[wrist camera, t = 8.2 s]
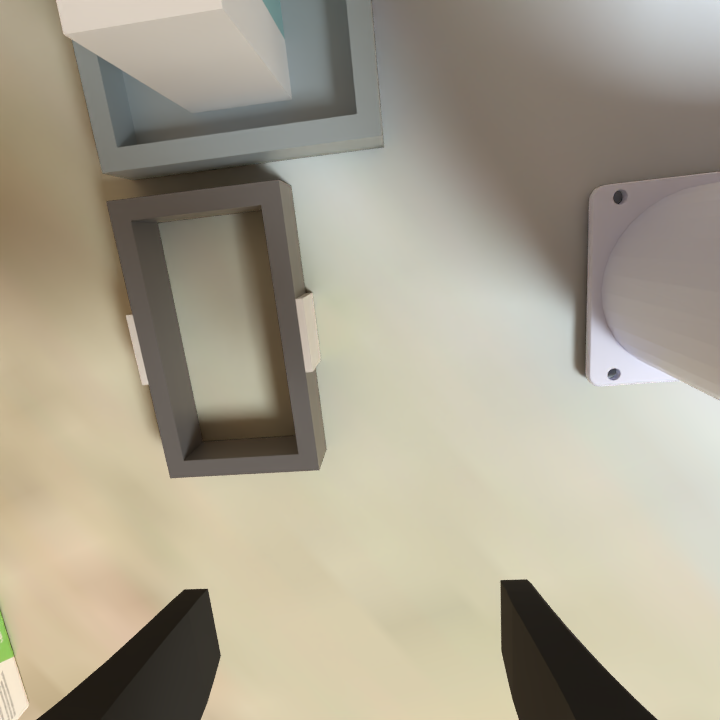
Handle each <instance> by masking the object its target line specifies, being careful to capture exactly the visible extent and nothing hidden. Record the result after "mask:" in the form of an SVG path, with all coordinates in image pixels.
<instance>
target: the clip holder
mask: <svg viewBox="0 0 720 720" xmlns="http://www.w3.org/2000/svg"><path fill="white" fill-rule="evenodd" d="M106 202H107V206H108V211H109V215H110V219H111V224H112V228H113V232H114V237H115V241H116V245H117V250H118V254H119V258H120V263H121V267H122V271H123V276H124V280H125V284H126V289H127V293H128V297H129V302H130V306H131V310H132V314H129V315H126V319H127V323H128V328H129V332H130V336H131V340H132V345H133V349H134V353H135V357H136V362H137V366H138V370H139V374H140V379H141V383H142V385H149V388H150V393H151V397H152V401H153V406H154V410H155V414H156V419H157V423H158V427H159V432H160V436H161V440H162V444H163V449H164V453H165V457H166V462H167V466H168V470H169V475H170V478H182V477H201V476H219V475H238V474H256V473H275V472H294V471H312V470H319V469H320V467H321V464H322V461H323V458H324V455H325V452H326V450H327V449H326V442H325V434H324V427H323V419H322V412H321V404H320V397H319V389H318V382H317V374H316V366H317V365H318V363H319V362H320V360H321V355H320V347H319V339H318V332H317V324H316V316H315V309H314V301H313V293H306V292H305V285H304V277H303V270H302V262H301V255H300V247H299V240H298V232H297V225H296V218H295V210H294V203H293V195H292V188H291V186H290V185H288V184H286V183H284V182H282V181H280V180H271V181H263V182H256V183H248V184H240V185H232V186H224V187H216V188H208V189H200V190H192V191H184V192H176V193H169V194H161V195H153V196H145V197H137V198H129V199H121V200H113V201H106ZM260 210H262V215H263V222H264V228H265V235H266V241H267V248H268V255H269V261H270V268H271V275H272V281H273V288H274V294H275V301H276V308H277V314H278V321H279V328H280V334H281V341H282V347H283V354H284V361H285V367H286V374H287V381H288V387H289V394H290V400H291V407H292V414H293V420H294V427H295V434H296V436H282V437H266V438H250V439H234V440H218V441H203V440H202V436H201V431H200V426H199V421H198V416H197V411H196V407H195V402H194V397H193V392H192V387H191V382H190V378H189V373H188V368H187V363H186V358H185V353H184V349H183V344H182V339H181V334H180V329H179V324H178V319H177V315H176V310H175V305H174V300H173V295H172V290H171V286H170V281H169V276H168V271H167V266H166V261H165V257H164V252H163V247H162V242H161V237H160V232H159V228H158V223H159V222H167V221H176V220H184V219H193V218H201V217H209V216H218V215H226V214H234V213H243V212H251V211H260Z"/></svg>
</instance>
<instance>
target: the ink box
mask: <svg viewBox="0 0 720 720" xmlns="http://www.w3.org/2000/svg"><path fill="white" fill-rule="evenodd" d="M28 706H29V702H28V699H27V695H26V692H25V689H24V686H23V683H22V680H21V676H20V673H19V670H18V667H17V664H16V661H15V657H14V654H13V651H12V647H11V644H10V641H9V638H8V634H7V631H6V628H5V625H4V621H3V618H2V615H1V611H0V720H18V719H19V718H20V716H21V715H22V714H23V712H24V711H25V710H26V709H27V708H28Z"/></svg>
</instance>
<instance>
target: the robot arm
mask: <svg viewBox="0 0 720 720" xmlns="http://www.w3.org/2000/svg"><path fill="white" fill-rule="evenodd" d="M616 191H620V192H621V193H622V195H623V199H622V201H621V202H620V203H619V204H616V203H615V202H614V200H613V196H614V193H615V192H616ZM613 368H616V374H615V375H614V376H613V377H610V378H608V376H607V374H608V371H610V370H611V369H613ZM586 378H587V380H588V381H589V382H590V383H592V384H593V385H595V386H613V385H627V384H642V383H656V382H670V381H682V382H684V383H686V384H688V385H690V386H692V387H694V388H696V389H698V390H700V391H702V392H704V393H706V394H708V395H710V396H712V397H714V398H716V399H718V400H720V171H719V172H711V173H702V174H694V175H685V176H676V177H668V178H659V179H650V180H642V181H633V182H624V183H616V184H607V185H603V186H600V187H597V188H596V189H595V190H593V192H592V193H591V195H590V198H589V225H588V275H587V326H586ZM501 649H502V655H503V660H504V664H505V669H506V673H507V678H508V682H509V686H510V690H511V695H512V699H513V702H514V705H515V709H516V712H517V715H518V718H519V720H657V719H656V718H655V717H654V716H653V715H652V714H651V713H650V712H649V711H648V710H647V709H645V708H644V707H643V706H642V705H641V704H640V703H639V702H638V701H637V700H636V699H635V698H634V697H633V696H632V695H631V694H630V693H629V692H628V691H627V690H626V689H625V688H624V687H623V686H622V685H621V684H620V683H619V682H618V681H617V680H616V679H615V678H614V677H613V676H612V675H611V674H610V673H609V672H608V671H607V670H606V669H605V668H604V667H603V666H602V665H601V664H600V663H599V662H598V661H597V659H596V658H595V657H594V656H593V655H592V654H591V653H590V652H589V651H588V650H587V649H586V647H585V646H584V645H583V644H582V643H581V642H580V641H579V640H578V639H577V638H576V637H575V635H574V634H573V633H572V632H571V631H570V630H569V629H568V627H567V626H566V625H565V624H564V623H563V622H562V620H561V619H560V618H559V617H558V616H557V615H556V613H555V612H554V611H553V610H552V609H551V607H550V606H549V605H548V604H547V602H546V601H545V600H544V599H543V598H542V596H541V595H540V594H539V593H538V591H537V590H536V589H535V588H534V586H533V585H532V584H531V583H530V582H529V581H528V580H501ZM220 656H221V655H220V650H219V644H218V639H217V634H216V629H215V624H214V618H213V613H212V608H211V603H210V598H209V592H208V589H188V590H183V591H182V592H181V593H180V594H179V595H178V596H177V597H176V598H174V599H173V600H172V601H171V602H170V603H169V604H168V605H167V606H166V607H165V608H164V609H163V610H161V611H160V612H159V613H158V614H157V615H156V616H155V617H154V618H153V619H152V620H151V621H150V622H149V623H148V624H147V625H146V626H144V627H143V628H142V629H141V630H140V631H139V632H138V633H137V634H136V635H135V636H134V637H133V638H131V639H130V640H129V641H128V642H127V643H126V644H125V645H124V646H123V647H122V648H121V649H120V650H118V651H117V652H116V653H115V654H114V655H113V656H112V657H111V658H110V659H109V660H107V661H106V662H105V663H104V664H103V665H102V666H100V667H99V668H98V669H97V670H96V671H95V672H93V673H92V674H91V675H90V676H89V677H88V678H86V679H85V680H84V681H83V682H82V683H81V684H79V685H78V686H77V687H76V688H75V689H74V690H72V691H71V692H70V693H69V694H68V695H67V696H65V697H64V698H63V699H62V700H61V701H59V702H58V703H57V704H56V705H54V706H53V707H52V708H51V709H49V710H48V711H47V712H46V713H44V714H43V715H42V716H41V717H39V718H38V719H37V720H201V717H202V715H203V712H204V710H205V707H206V704H207V702H208V698H209V695H210V692H211V688H212V685H213V682H214V678H215V675H216V671H217V667H218V664H219V660H220Z"/></svg>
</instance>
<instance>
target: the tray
mask: <svg viewBox="0 0 720 720" xmlns="http://www.w3.org/2000/svg"><path fill="white" fill-rule="evenodd" d="M280 4H281V12H282V20H283V29H284V37H285V45H286V53H287V61H288V69H289V78H290V86H291V94H292V100H285V101H278V102H271V103H264V104H256V105H249V106H242V107H235V108H227V109H220V110H213V111H206V112H199V113H191V112H189V111H188V110H186V109H184V108H183V107H181V106H179V105H178V104H176V103H175V102H173V101H171V100H170V99H168V98H166V97H165V96H163V95H162V94H160V93H158V92H157V91H155V90H153V89H152V88H150V87H148V86H147V85H145V84H144V83H142V82H140V81H139V80H137V79H135V78H134V77H132V76H130V75H129V74H127V73H126V72H124V71H122V70H121V69H119V68H117V67H116V66H114V65H113V64H111V63H109V62H108V61H106V60H104V59H103V58H101V57H99V56H98V55H96V54H95V53H93V52H91V51H90V50H88V49H86V48H85V47H83V46H82V45H80V44H78V43H77V42H75V41H73V40H72V43H73V48H74V52H75V56H76V61H77V65H78V69H79V74H80V78H81V82H82V87H83V91H84V95H85V100H86V104H87V109H88V113H89V117H90V122H91V126H92V130H93V135H94V139H95V143H96V148H97V152H98V156H99V161H100V165H101V169H102V173H103V174H108V175H112V176H117V177H121V178H126V179H130V180H137V179H145V178H152V177H160V176H168V175H175V174H183V173H190V172H198V171H206V170H213V169H221V168H229V167H236V166H244V165H251V164H259V163H267V162H274V161H282V160H290V159H297V158H305V157H312V156H320V155H328V154H335V153H343V152H351V151H358V150H366V149H374V148H381V147H384V142H383V130H382V118H381V107H380V95H379V83H378V71H377V59H376V47H375V35H374V24H373V12H372V0H280Z"/></svg>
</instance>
